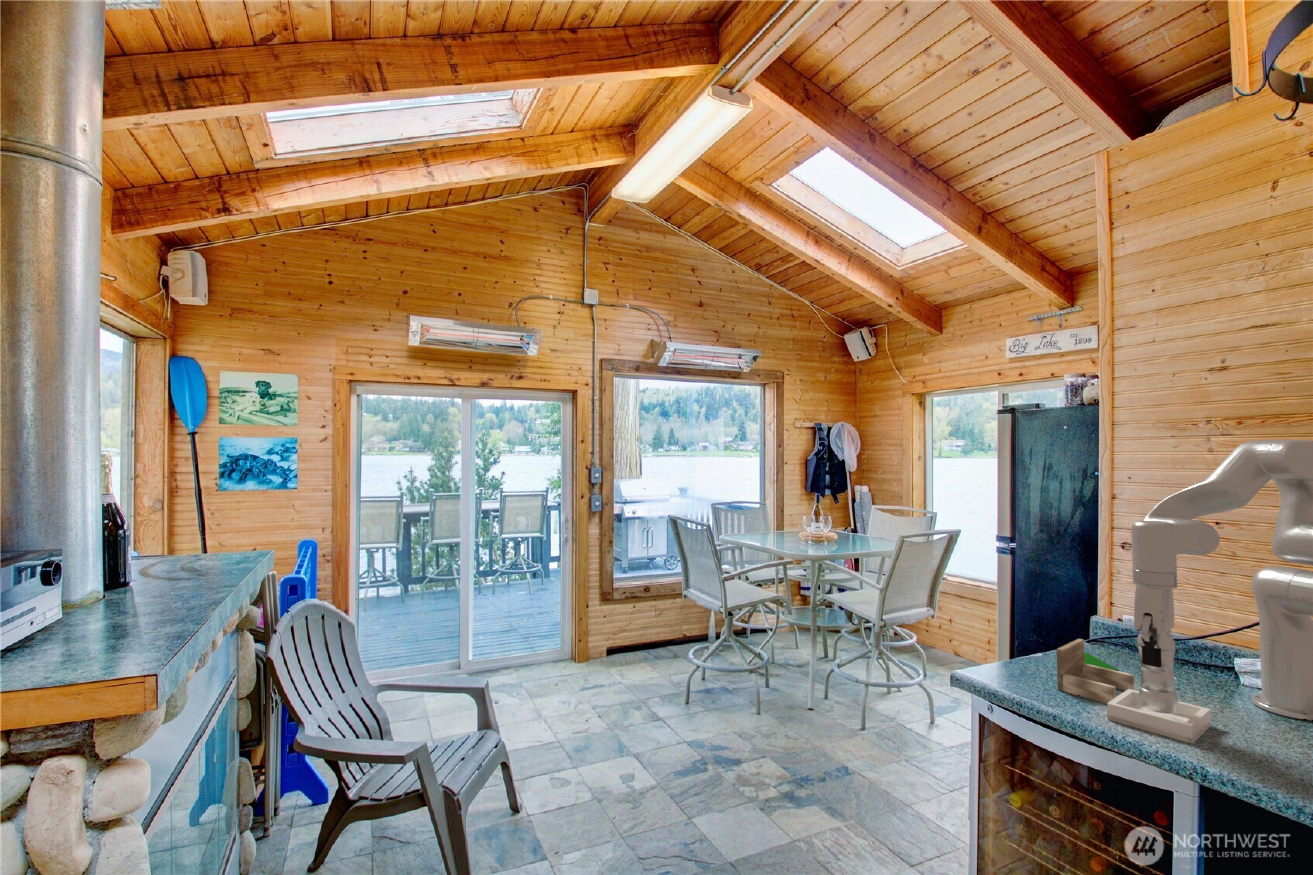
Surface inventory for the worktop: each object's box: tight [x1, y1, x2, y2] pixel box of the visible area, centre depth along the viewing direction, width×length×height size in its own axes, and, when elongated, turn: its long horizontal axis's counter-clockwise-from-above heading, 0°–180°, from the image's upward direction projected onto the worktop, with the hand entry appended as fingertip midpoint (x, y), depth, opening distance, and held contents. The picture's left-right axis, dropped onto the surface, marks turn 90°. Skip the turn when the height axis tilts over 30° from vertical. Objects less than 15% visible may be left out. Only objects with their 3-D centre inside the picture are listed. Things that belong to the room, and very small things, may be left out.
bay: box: [1056, 638, 1135, 704], centre depth 152 cm, size 12×13×10 cm
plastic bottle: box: [1136, 630, 1179, 714], centre depth 135 cm, size 6×7×20 cm
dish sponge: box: [1084, 652, 1120, 671], centre depth 168 cm, size 7×14×2 cm, turn 174°
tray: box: [1106, 689, 1212, 745], centre depth 134 cm, size 14×13×4 cm
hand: (1157, 661), depth 135 cm, fingers closed on plastic bottle, 6 cm apart
